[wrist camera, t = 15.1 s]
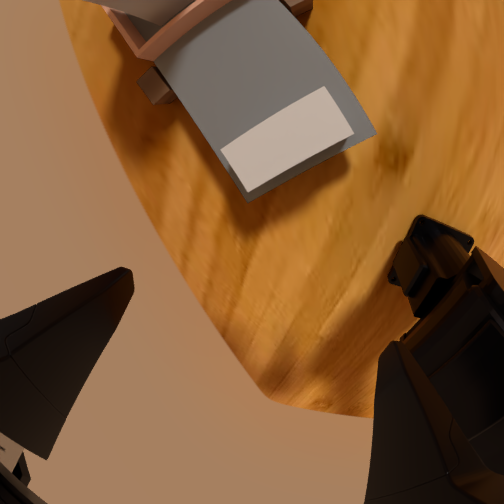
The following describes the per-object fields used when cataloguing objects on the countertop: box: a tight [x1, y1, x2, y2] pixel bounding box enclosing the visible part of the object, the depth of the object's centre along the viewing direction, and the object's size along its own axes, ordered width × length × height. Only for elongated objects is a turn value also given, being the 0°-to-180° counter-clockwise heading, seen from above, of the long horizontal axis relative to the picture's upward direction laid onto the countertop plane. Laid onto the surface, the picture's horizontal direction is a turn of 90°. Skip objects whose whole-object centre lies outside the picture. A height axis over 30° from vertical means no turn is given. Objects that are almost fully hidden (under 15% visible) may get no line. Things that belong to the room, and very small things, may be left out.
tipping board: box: [101, 0, 377, 203], centre depth 11 cm, size 21×9×4 cm, turn 34°
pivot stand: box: [137, 0, 313, 105], centre depth 13 cm, size 2×13×2 cm, turn 125°
